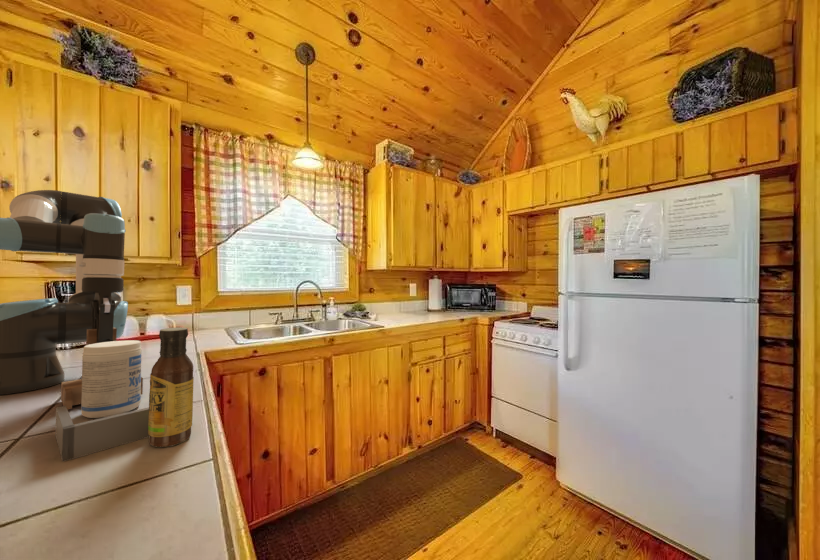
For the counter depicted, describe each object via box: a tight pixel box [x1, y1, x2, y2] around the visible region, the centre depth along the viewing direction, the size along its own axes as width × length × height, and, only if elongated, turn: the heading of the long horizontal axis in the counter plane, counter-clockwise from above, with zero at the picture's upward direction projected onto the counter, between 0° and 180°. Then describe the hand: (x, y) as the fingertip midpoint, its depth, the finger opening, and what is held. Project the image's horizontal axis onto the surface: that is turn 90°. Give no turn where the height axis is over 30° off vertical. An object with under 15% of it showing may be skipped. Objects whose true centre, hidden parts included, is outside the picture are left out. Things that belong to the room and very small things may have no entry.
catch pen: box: [54, 406, 150, 462], centre depth 61 cm, size 14×17×5 cm
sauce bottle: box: [148, 326, 195, 448], centre depth 57 cm, size 6×6×20 cm
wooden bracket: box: [60, 328, 144, 411], centre depth 77 cm, size 10×13×16 cm
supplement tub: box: [80, 339, 142, 419], centre depth 70 cm, size 10×10×15 cm
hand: (101, 371), depth 79 cm, fingers closed on wooden bracket, 3 cm apart
